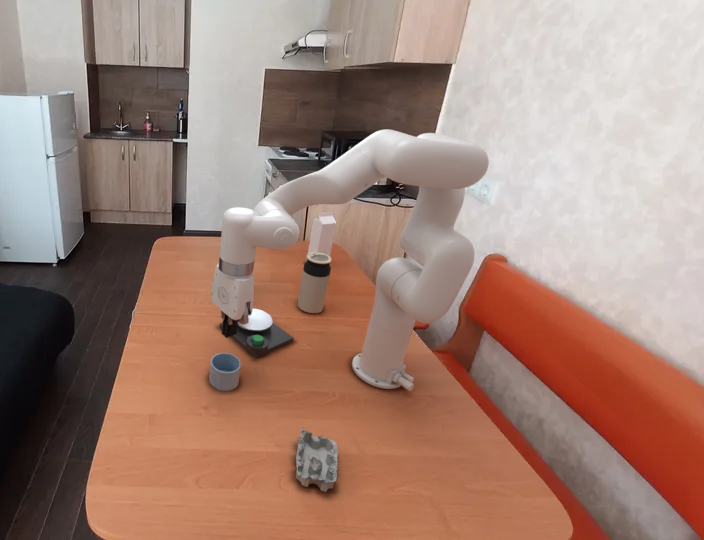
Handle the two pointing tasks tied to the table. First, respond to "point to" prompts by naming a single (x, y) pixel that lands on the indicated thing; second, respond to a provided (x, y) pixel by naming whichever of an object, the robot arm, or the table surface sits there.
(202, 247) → the table surface
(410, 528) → the table surface
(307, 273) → the travel mug
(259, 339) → the tare button
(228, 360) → the cup
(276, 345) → the scale
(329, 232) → the milk
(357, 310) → the table surface
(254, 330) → the weighing pan
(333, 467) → the egg carton
